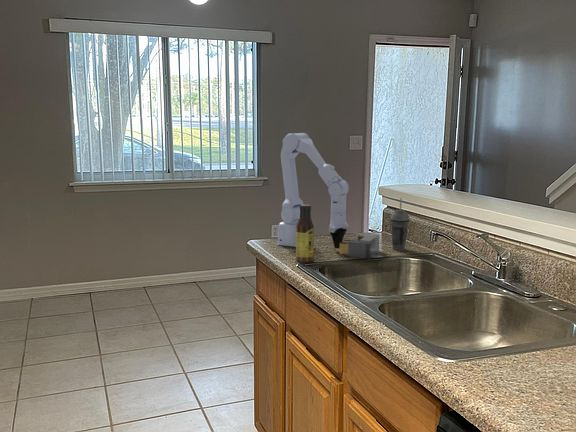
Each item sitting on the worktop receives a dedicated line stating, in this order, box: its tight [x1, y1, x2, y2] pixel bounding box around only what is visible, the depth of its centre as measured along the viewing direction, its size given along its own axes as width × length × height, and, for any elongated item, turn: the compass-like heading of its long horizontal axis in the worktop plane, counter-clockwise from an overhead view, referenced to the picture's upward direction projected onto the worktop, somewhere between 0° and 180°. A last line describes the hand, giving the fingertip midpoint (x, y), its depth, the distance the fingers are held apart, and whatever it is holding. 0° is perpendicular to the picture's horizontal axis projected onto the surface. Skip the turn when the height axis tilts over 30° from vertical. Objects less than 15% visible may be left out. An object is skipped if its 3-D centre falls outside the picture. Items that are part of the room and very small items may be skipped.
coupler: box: [347, 233, 381, 260], centre depth 207 cm, size 8×13×6 cm, turn 156°
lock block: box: [338, 238, 358, 256], centre depth 210 cm, size 5×8×4 cm, turn 160°
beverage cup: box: [389, 198, 410, 252], centre depth 214 cm, size 7×7×20 cm
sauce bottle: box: [295, 204, 315, 263], centre depth 195 cm, size 7×6×20 cm
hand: (337, 247), depth 212 cm, fingers closed
